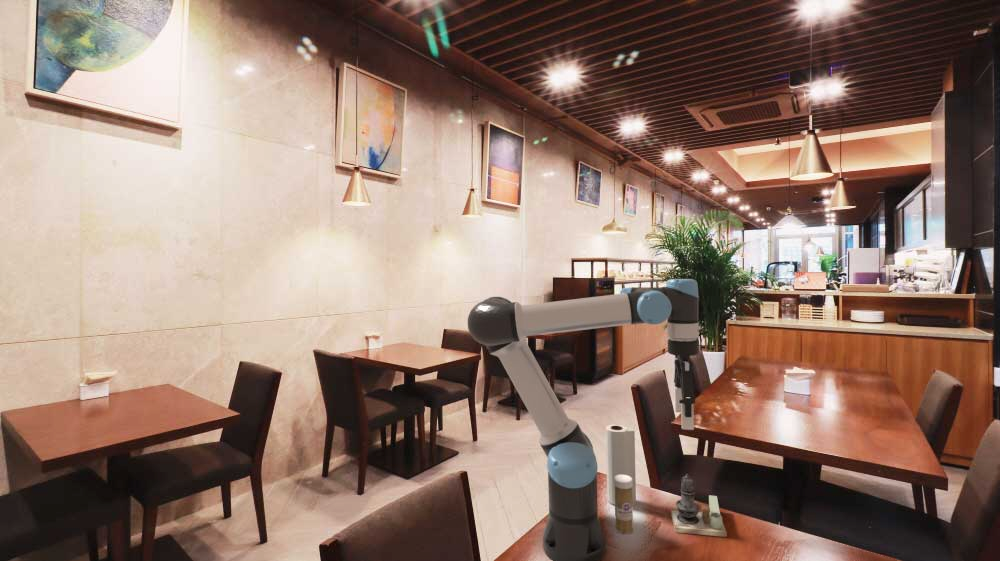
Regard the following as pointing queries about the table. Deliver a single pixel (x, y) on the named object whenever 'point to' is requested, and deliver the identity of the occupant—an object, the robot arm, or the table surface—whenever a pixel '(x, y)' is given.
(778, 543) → the table surface
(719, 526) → the leg
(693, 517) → the grey stone chess piece
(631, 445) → the paper towel roll
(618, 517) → the sprinkles bottle
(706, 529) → the board
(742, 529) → the table surface
